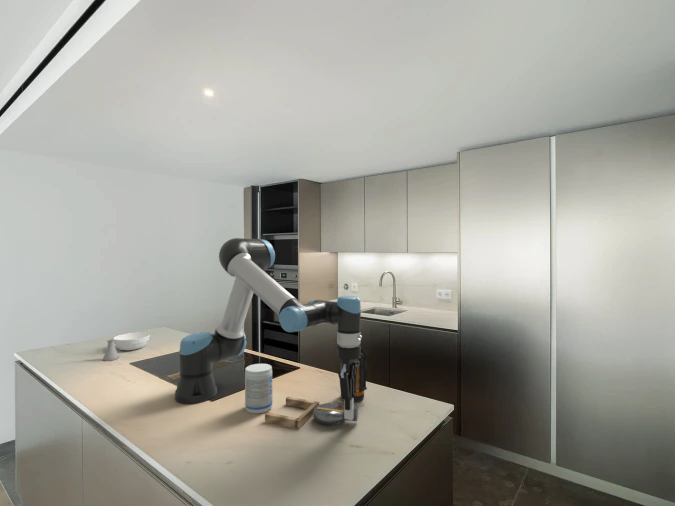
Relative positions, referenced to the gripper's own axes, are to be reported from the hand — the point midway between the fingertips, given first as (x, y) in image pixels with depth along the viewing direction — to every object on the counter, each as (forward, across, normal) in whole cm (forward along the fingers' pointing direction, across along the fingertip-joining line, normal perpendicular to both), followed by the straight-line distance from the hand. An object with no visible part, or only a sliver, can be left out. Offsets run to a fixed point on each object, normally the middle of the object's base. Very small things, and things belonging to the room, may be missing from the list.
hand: (348, 418), depth 112 cm
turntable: (+1, +2, +5) cm, 6 cm away
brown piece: (+2, 0, +21) cm, 21 cm away
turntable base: (+2, +1, +7) cm, 8 cm away
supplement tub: (+3, 0, +34) cm, 34 cm away
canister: (+2, +20, +5) cm, 21 cm away
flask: (+2, +19, +139) cm, 140 cm away
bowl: (+2, +37, +147) cm, 152 cm away
